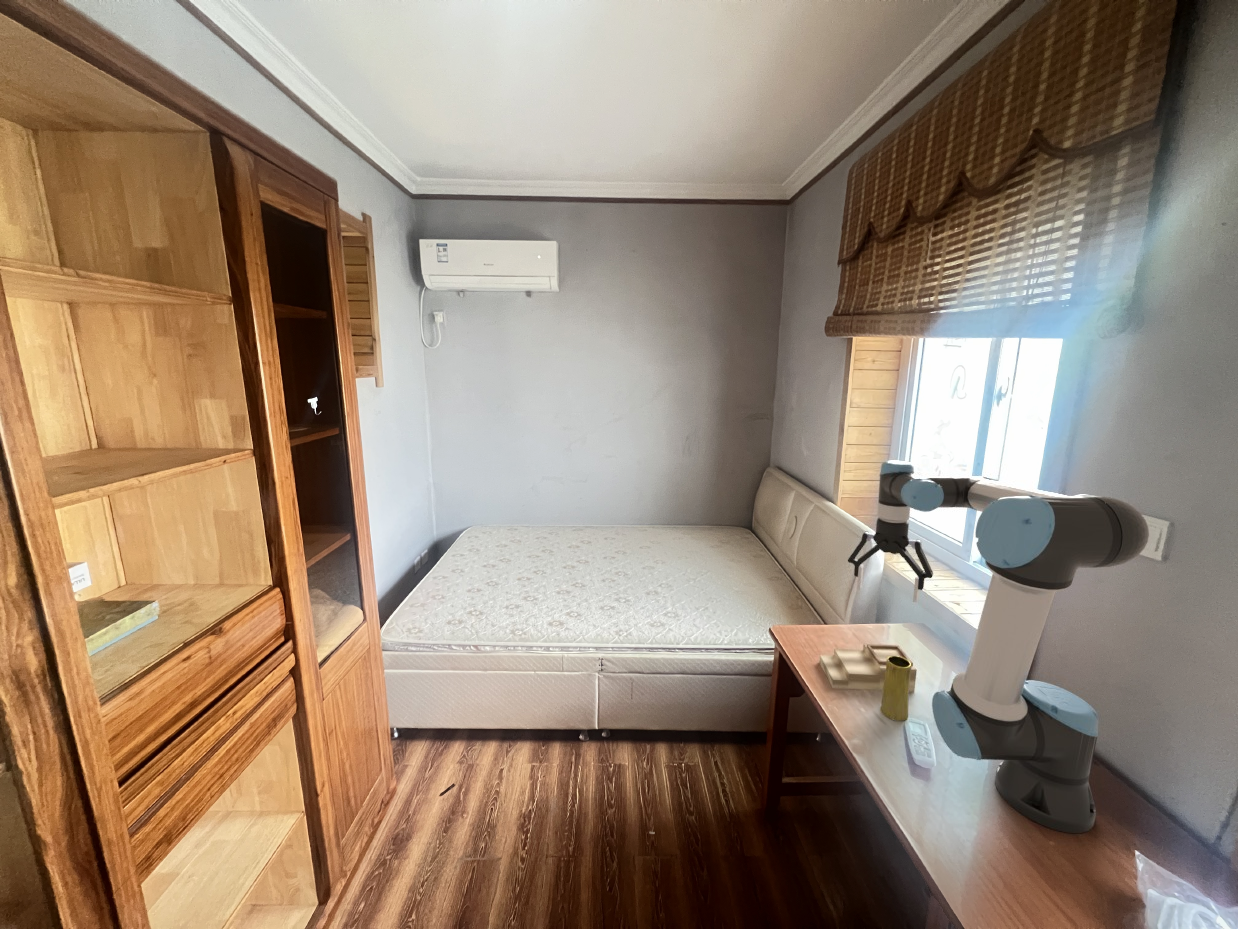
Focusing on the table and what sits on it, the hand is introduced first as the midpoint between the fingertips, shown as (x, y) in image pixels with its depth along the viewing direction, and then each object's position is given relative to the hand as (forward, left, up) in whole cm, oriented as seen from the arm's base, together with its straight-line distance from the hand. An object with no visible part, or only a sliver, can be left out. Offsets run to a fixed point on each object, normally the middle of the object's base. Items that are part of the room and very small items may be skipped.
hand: (886, 593), depth 136 cm
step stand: (-2, +5, -24) cm, 25 cm away
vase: (-17, +3, -24) cm, 30 cm away
